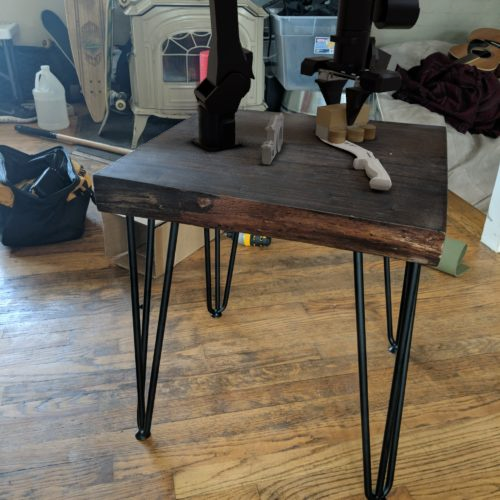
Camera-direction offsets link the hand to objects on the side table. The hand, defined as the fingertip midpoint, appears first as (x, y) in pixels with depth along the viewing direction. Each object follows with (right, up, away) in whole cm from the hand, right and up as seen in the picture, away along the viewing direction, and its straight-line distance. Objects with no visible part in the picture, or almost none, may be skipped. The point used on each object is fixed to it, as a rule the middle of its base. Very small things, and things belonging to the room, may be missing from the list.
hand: (342, 123), depth 93 cm
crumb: (+5, -2, +1) cm, 5 cm away
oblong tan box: (0, -2, +1) cm, 2 cm away
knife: (-1, -8, -10) cm, 13 cm away
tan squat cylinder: (-2, -4, -3) cm, 6 cm away
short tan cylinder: (+2, -3, -1) cm, 4 cm away
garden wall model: (-13, -7, -9) cm, 17 cm away
